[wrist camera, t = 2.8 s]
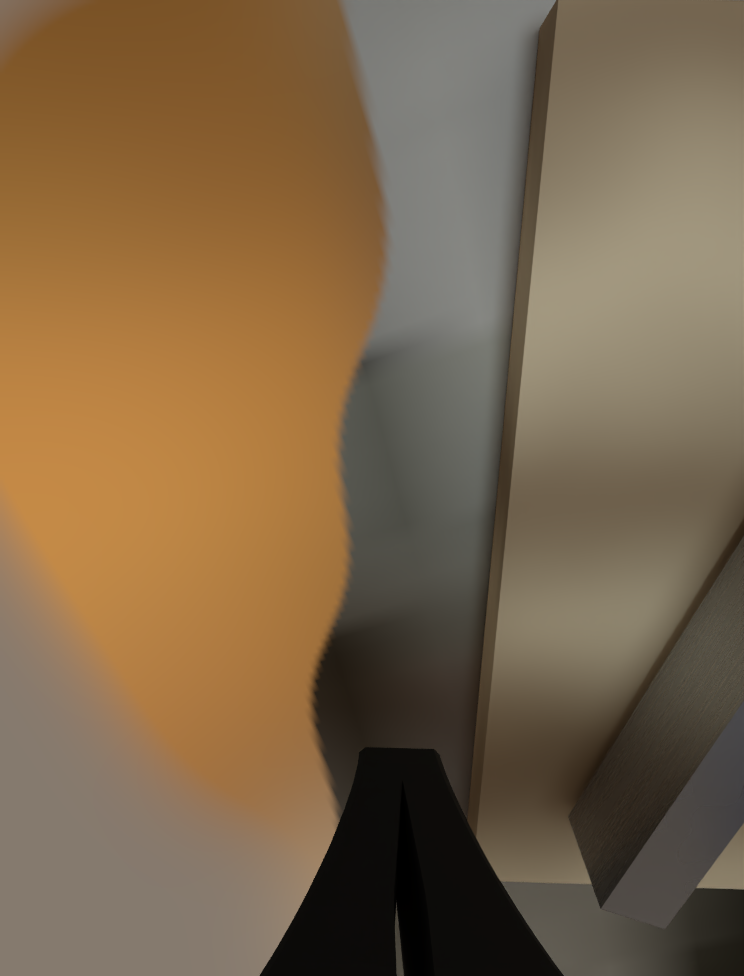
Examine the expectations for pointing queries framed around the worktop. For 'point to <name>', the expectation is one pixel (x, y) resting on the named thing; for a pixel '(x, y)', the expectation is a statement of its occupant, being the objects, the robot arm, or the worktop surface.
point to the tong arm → (673, 769)
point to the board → (612, 408)
